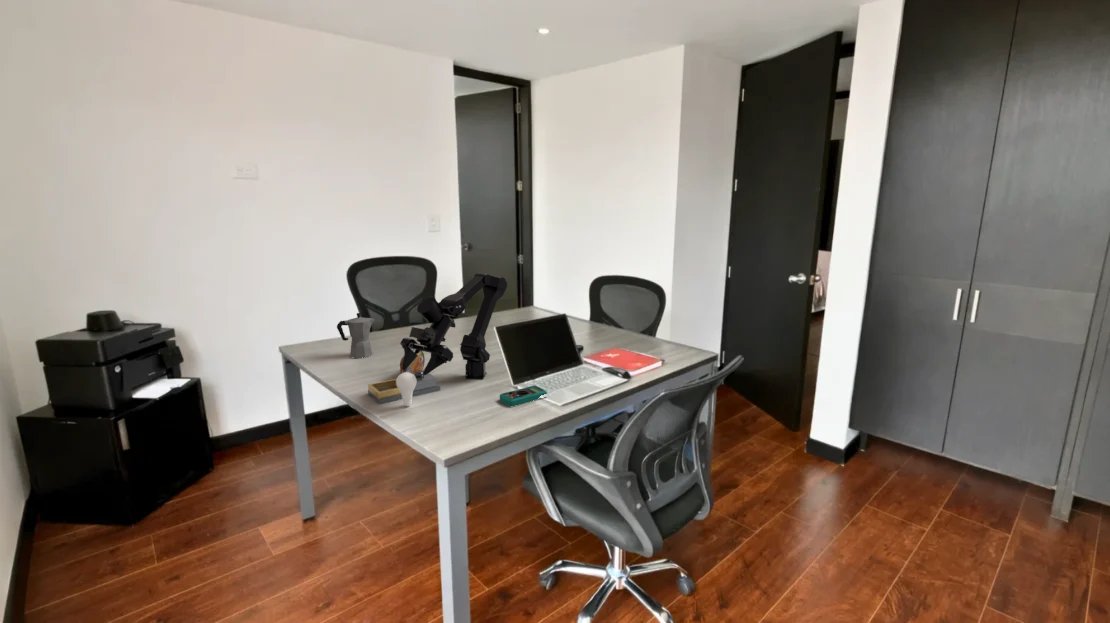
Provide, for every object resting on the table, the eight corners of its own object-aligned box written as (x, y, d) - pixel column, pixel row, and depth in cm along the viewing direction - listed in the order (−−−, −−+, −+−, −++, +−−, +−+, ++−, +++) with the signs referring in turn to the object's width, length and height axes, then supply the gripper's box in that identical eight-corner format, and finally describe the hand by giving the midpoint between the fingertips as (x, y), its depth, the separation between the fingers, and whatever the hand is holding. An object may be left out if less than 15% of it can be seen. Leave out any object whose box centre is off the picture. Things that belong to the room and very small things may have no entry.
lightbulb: (419, 402, 162) (418, 369, 159) (415, 410, 156) (413, 375, 153) (400, 402, 161) (398, 369, 159) (395, 410, 156) (393, 375, 153)
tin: (407, 381, 181) (405, 358, 179) (398, 380, 182) (397, 358, 180) (425, 368, 195) (424, 347, 194) (418, 367, 196) (417, 346, 194)
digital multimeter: (497, 401, 164) (497, 393, 164) (535, 391, 173) (535, 383, 173) (509, 409, 159) (509, 400, 158) (547, 398, 168) (548, 390, 167)
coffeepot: (373, 350, 218) (370, 309, 215) (381, 355, 211) (378, 313, 208) (336, 356, 209) (332, 313, 205) (343, 362, 202) (339, 317, 198)
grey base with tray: (426, 381, 181) (426, 365, 180) (440, 390, 172) (439, 373, 171) (368, 393, 168) (366, 376, 167) (379, 404, 160) (378, 386, 159)
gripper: (403, 313, 165) (377, 354, 158) (446, 320, 155) (420, 364, 148) (421, 332, 173) (398, 371, 166) (463, 340, 164) (440, 382, 157)
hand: (413, 372), depth 159 cm, fingers open, 9 cm apart
